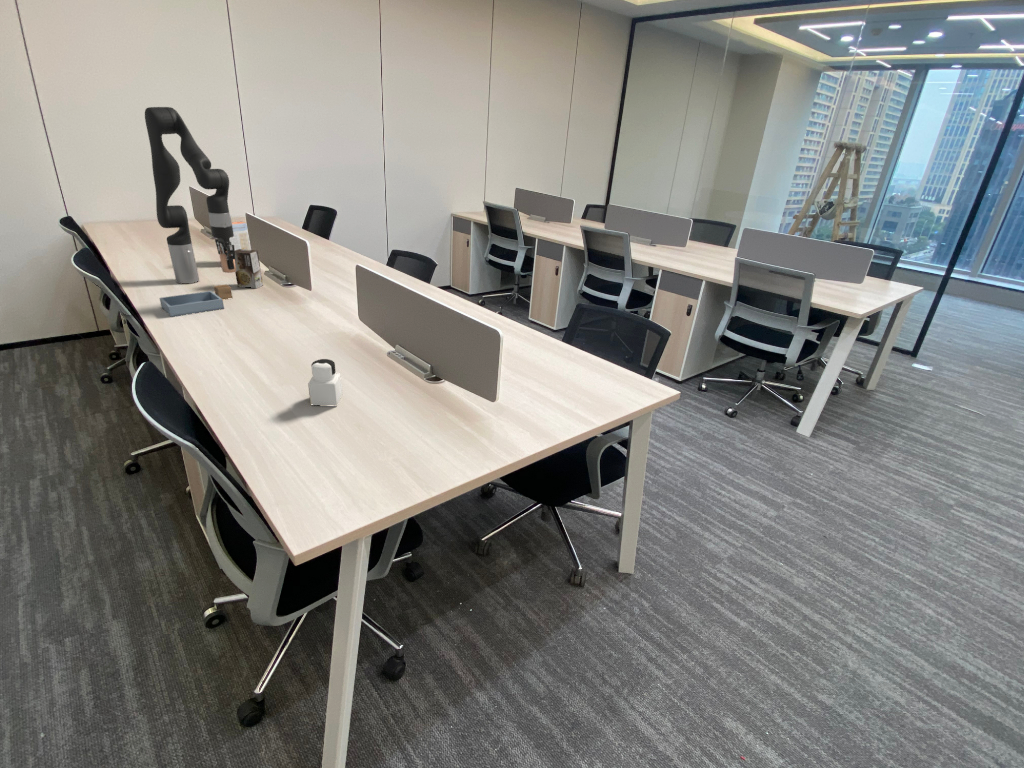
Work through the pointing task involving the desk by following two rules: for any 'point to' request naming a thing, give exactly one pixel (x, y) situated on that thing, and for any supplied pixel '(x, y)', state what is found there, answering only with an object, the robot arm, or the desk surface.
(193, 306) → the tote
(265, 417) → the desk surface
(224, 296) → the walnut cube
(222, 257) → the tan capsule
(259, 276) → the coffee box
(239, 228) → the cracker box
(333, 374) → the white blocky figurine
